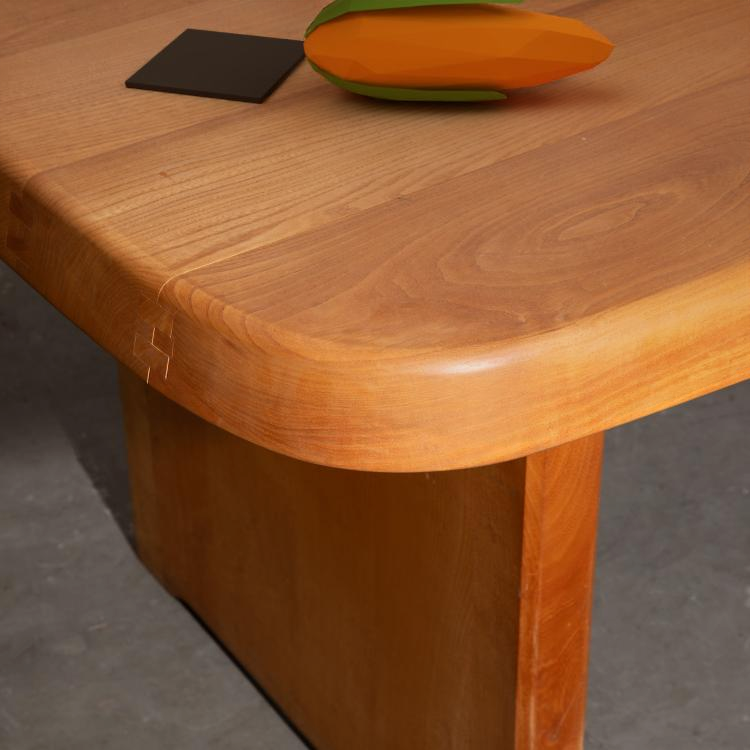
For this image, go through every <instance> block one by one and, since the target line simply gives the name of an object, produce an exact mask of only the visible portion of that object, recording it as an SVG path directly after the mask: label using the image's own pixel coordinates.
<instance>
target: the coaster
mask: <svg viewBox="0 0 750 750" xmlns="http://www.w3.org/2000/svg"><path fill="white" fill-rule="evenodd" d="M304 42H305V40H299V39H291V38H281V37H271V36H262V35H253V34H243V33H235V32H225V31H217V30H216V31H215V30H206V29H198V28H189V27H188V28H185V30H183V31H182V32H181V33H180V34H179V35H178V36H176V37H175V38H174V39H173V40H172V41H171V42H169V44H167V45H166V46H165V47H164V48H163V49H161V50H160V51H158V53H157V54H155V55H154V56H153V57H152V58H151V59H150V60H148V61H147V62H146V63H145V64H144V65H143V66H141V67H140V68H139V69H138V70H136V71H135V72H134V73H133V74H132V75H131V76H130V77H128V78H127V79H125V81H124V87H125V88H132V89H141V90H150V91H157V92H165V93H173V94H181V95H190V96H197V97H205V98H206V97H207V98H215V99H223V100H231V101H238V102H239V101H240V102H247V103H255V104H262V103H263V102H264V101H265V100H266V99H267V98H268V96H270V95H271V93H272V92H274V90H275V89H277V88H278V86H279V85H280V84H281V83H282V82H283V81H284V80H285V79H286V78H287V77H288V76H289V75H290V74H291V73H292V72H293V71H294V70H295V69H296V68H297V67H298V66H299V64H301V62H302V61H303V60H305V59H306V56H305V55H304V54H305V50H304Z"/></svg>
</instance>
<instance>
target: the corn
mask: <svg viewBox="0 0 750 750" xmlns="http://www.w3.org/2000/svg"><path fill="white" fill-rule="evenodd" d="M525 1H526V0H334V1H333V2H331V3H329V4H327V5H326V6H325V7H323V8H322V9H321V10H320V11H319V13H318V14H317V16H315V18H314V19H313V21H311V23H310V24H309V25H308V27H307V28H306V29H305V33H304V35H303V39H304V41H305V42H304V50H305V54H304V55H305V56H306V57H305V60H306V62H307V63H308V64H309V65H310V67H311V68H312V70H314V72H316V74H318V76H319V77H320V78H323V79H324V80H325V81H327V82H329V83H330V84H332V85H335V86H336V87H338V88H341V89H343V90H345V91H346V92H350V93H353V94H358V95H362V96H366V97H371V98H375V99H379V100H389V101H407V102H409V101H411V102H413V101H414V102H416V101H417V102H485V101H499V100H507V99H508V97H507V94H503V93H501V92H498V91H502V90H509V89H518V88H519V89H520V88H527V87H536V86H541V85H544V84H547V83H550V82H554V81H557V80H560V79H563V78H567V77H570V76H573V75H576V74H579V73H583V72H586V71H589V70H593V69H594V68H596V67H597V66H599V65H600V64H602V63H603V62H605V61H607V59H609V58H610V55H611V54H612V52H613V50H614V48H615V46H614V43H612V41H610V39H609V38H607V37H605V36H604V35H603V34H601V33H599V32H598V31H596V30H594V29H593V28H592V27H590V26H588V25H587V24H585V23H584V22H582V21H581V20H578V19H575V18H574V19H573V18H569V17H563V16H557V15H553V14H548V13H543V12H542V13H541V12H537V11H532V10H526V9H520V8H515V7H511V6H504V5H499V4H522V3H524V2H525Z"/></svg>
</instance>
